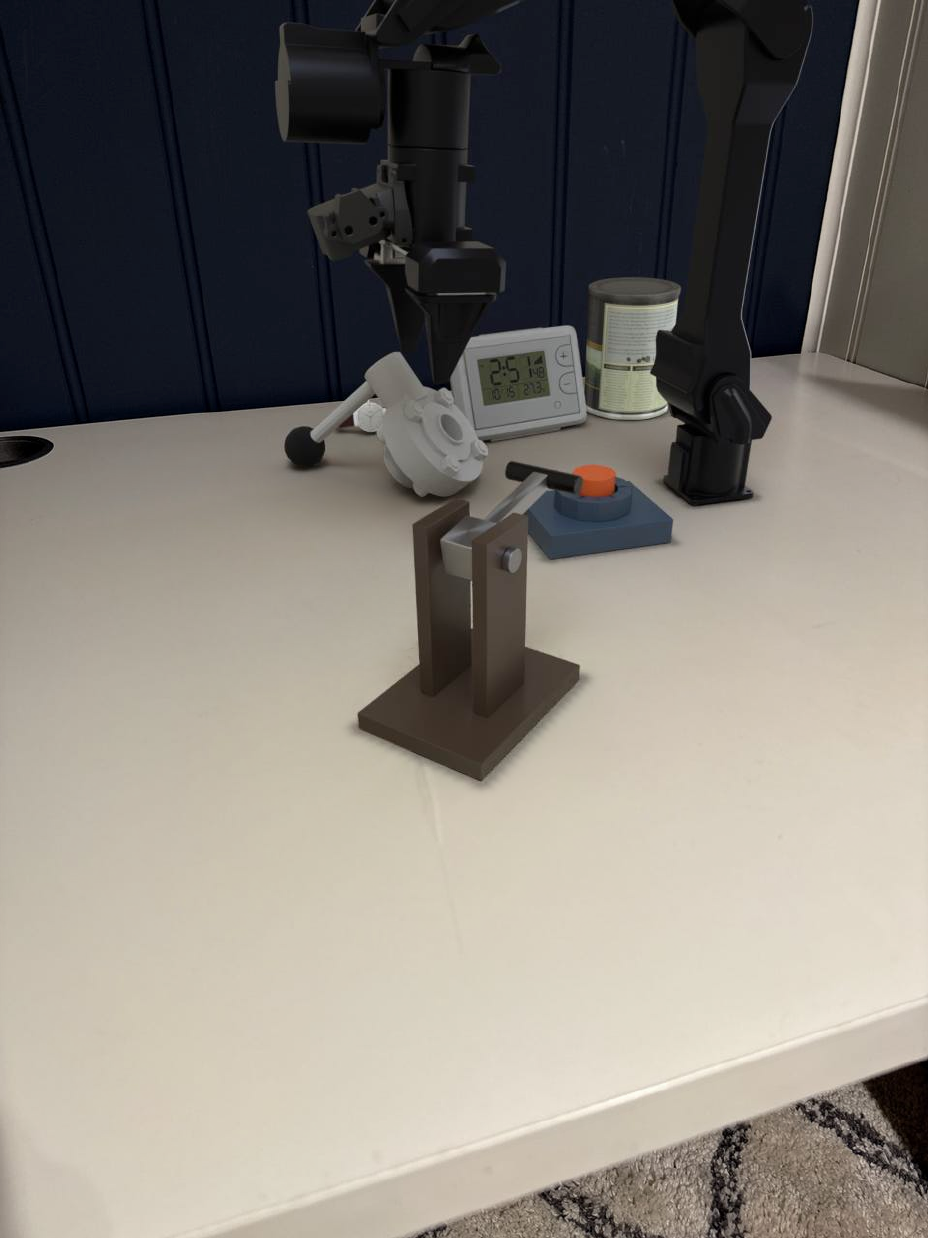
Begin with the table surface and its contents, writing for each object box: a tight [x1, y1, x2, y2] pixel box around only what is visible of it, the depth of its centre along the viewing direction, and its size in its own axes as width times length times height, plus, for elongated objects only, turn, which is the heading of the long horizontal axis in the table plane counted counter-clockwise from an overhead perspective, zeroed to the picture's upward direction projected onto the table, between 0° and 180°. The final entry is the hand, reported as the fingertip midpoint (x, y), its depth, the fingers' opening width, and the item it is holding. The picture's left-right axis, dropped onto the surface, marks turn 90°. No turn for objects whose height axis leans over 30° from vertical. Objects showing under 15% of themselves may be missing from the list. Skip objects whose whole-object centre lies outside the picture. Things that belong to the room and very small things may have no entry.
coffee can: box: [584, 276, 682, 421], centre depth 105 cm, size 10×10×14 cm
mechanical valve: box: [283, 351, 489, 498], centre depth 89 cm, size 10×18×15 cm
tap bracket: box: [357, 497, 581, 781], centre depth 54 cm, size 12×9×13 cm
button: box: [572, 464, 617, 497], centre depth 77 cm, size 4×4×2 cm
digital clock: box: [449, 325, 588, 443], centre depth 100 cm, size 16×9×11 cm, turn 103°
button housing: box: [522, 476, 674, 560], centre depth 78 cm, size 11×9×4 cm
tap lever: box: [440, 460, 583, 582], centre depth 54 cm, size 10×5×2 cm, turn 146°
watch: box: [337, 399, 386, 433], centre depth 103 cm, size 8×5×4 cm, turn 104°
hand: (423, 367), depth 71 cm, fingers open, 9 cm apart
